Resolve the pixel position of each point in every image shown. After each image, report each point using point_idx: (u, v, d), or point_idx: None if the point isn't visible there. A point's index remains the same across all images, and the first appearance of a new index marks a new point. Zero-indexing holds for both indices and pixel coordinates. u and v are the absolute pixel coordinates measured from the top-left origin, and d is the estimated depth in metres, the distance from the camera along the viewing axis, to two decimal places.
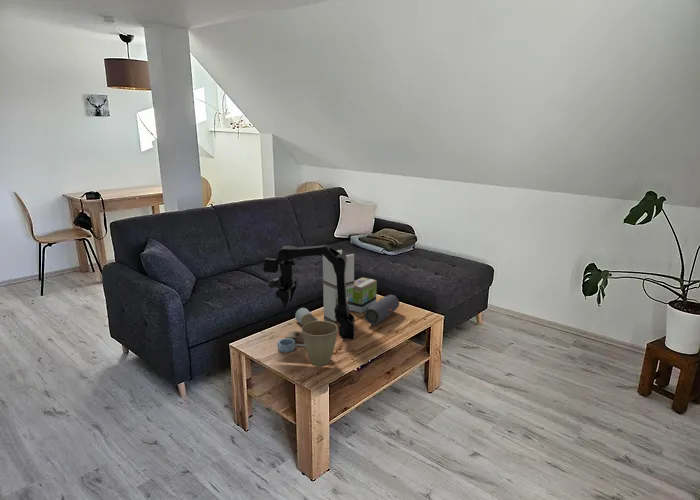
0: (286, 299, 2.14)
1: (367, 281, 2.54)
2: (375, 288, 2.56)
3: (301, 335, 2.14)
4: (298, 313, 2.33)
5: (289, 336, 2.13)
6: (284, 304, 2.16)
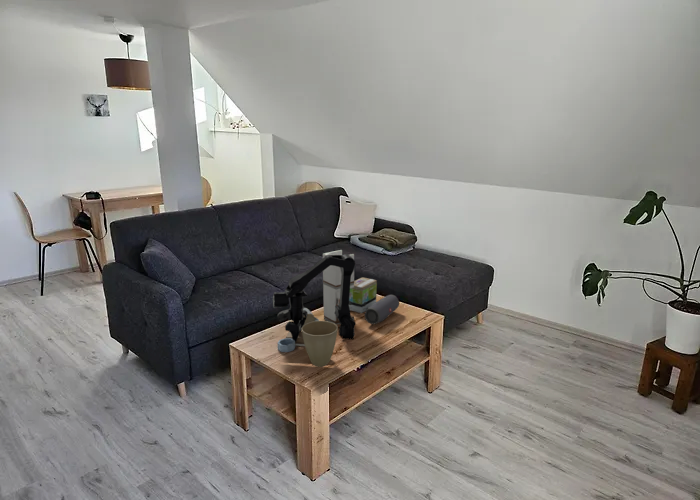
0: (296, 332, 2.08)
1: (367, 281, 2.54)
2: (375, 288, 2.56)
3: (301, 335, 2.14)
4: None
5: (289, 336, 2.13)
6: (294, 337, 2.10)
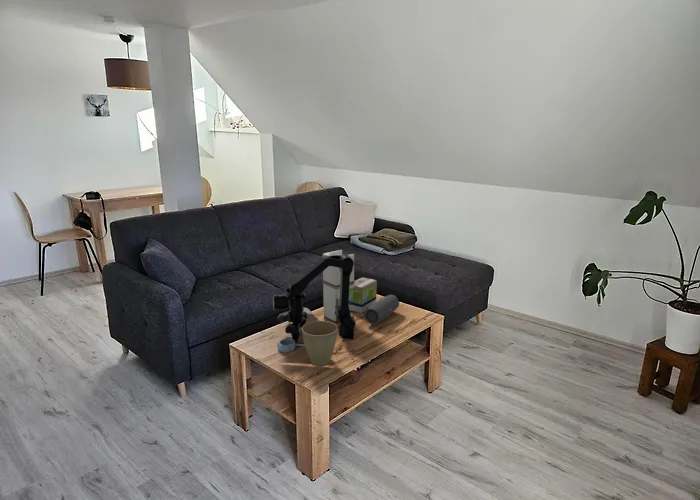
0: (296, 333, 2.09)
1: (367, 281, 2.54)
2: (375, 288, 2.56)
3: (301, 335, 2.14)
4: None
5: (289, 336, 2.13)
6: (294, 338, 2.11)
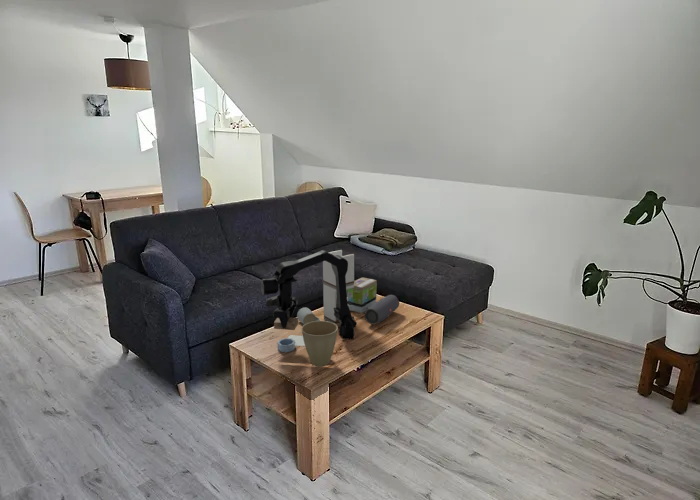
0: (285, 319, 2.01)
1: (367, 281, 2.54)
2: (375, 288, 2.56)
3: (290, 321, 2.05)
4: (300, 313, 2.34)
5: (277, 321, 2.04)
6: (283, 324, 2.02)
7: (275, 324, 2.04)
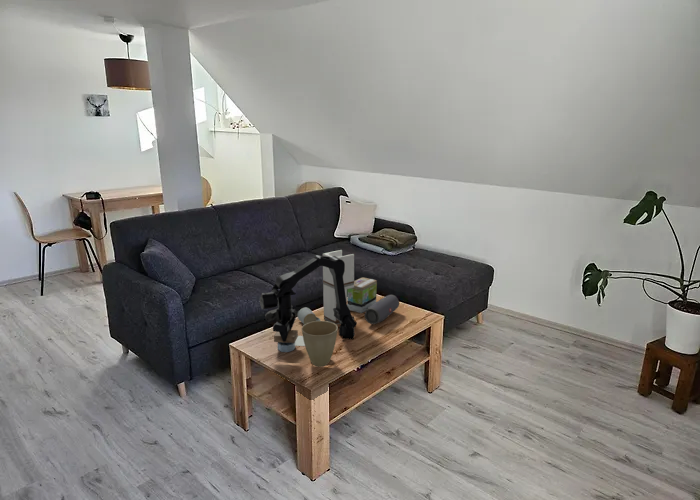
0: (285, 332, 2.01)
1: (367, 281, 2.54)
2: (375, 288, 2.56)
3: (290, 334, 2.06)
4: (300, 313, 2.34)
5: (277, 335, 2.05)
6: (283, 337, 2.03)
7: (275, 337, 2.04)
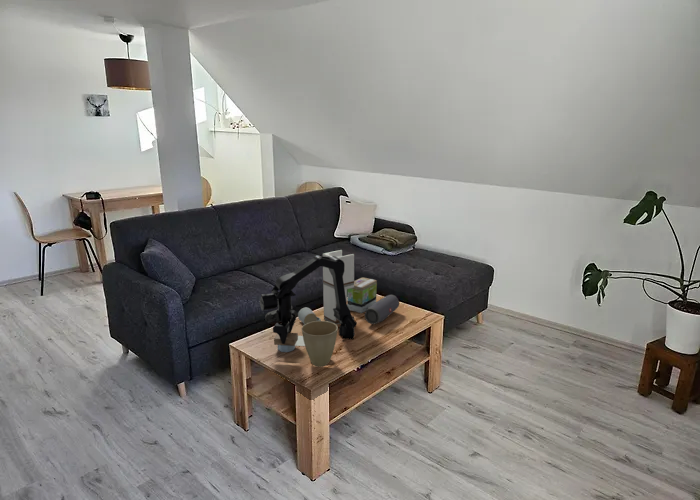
0: (284, 334, 2.00)
1: (367, 281, 2.54)
2: (375, 288, 2.56)
3: (290, 336, 2.06)
4: (301, 312, 2.34)
5: (277, 337, 2.05)
6: (282, 339, 2.02)
7: (275, 340, 2.05)
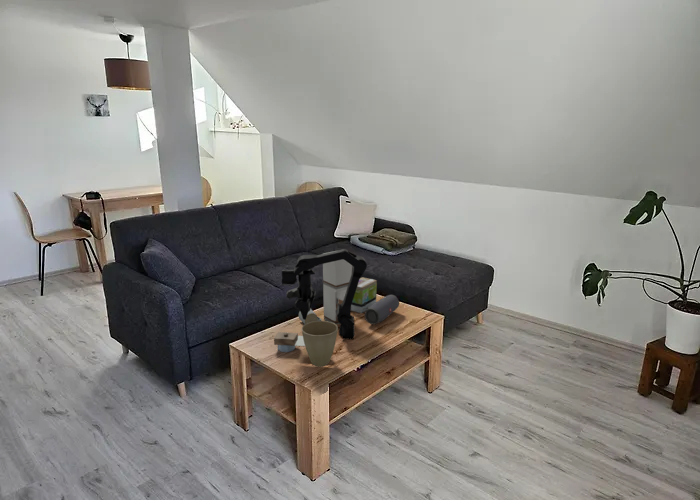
0: (305, 310, 2.10)
1: (367, 281, 2.54)
2: (375, 288, 2.56)
3: (290, 336, 2.06)
4: None
5: (277, 337, 2.05)
6: (303, 315, 2.11)
7: (275, 340, 2.05)
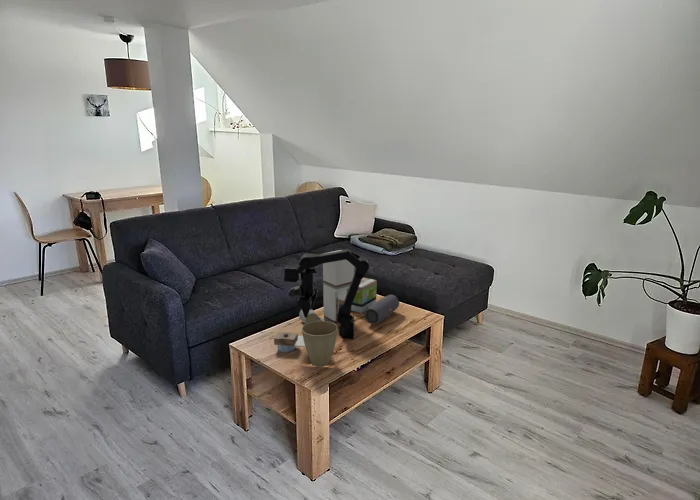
0: (307, 308, 2.11)
1: (367, 281, 2.54)
2: (375, 288, 2.56)
3: (290, 336, 2.06)
4: (302, 312, 2.34)
5: (277, 337, 2.05)
6: (305, 313, 2.12)
7: (275, 340, 2.05)
